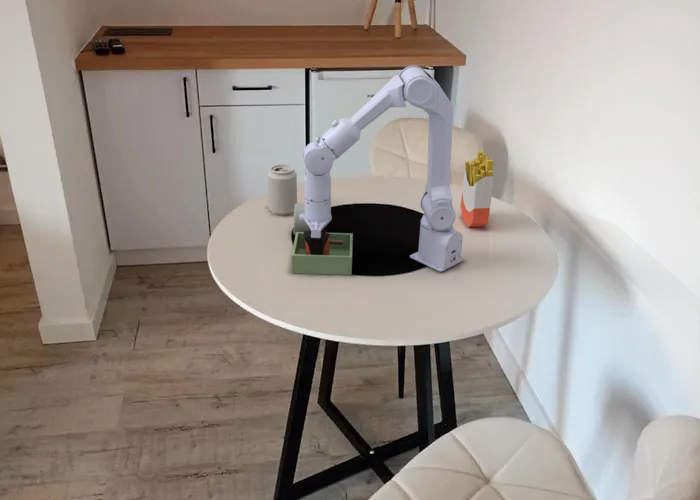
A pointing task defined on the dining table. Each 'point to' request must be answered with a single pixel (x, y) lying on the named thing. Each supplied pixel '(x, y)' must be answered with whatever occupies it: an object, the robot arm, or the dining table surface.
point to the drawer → (323, 256)
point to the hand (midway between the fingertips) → (317, 252)
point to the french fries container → (477, 191)
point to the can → (282, 189)
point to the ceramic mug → (299, 224)
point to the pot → (326, 246)
